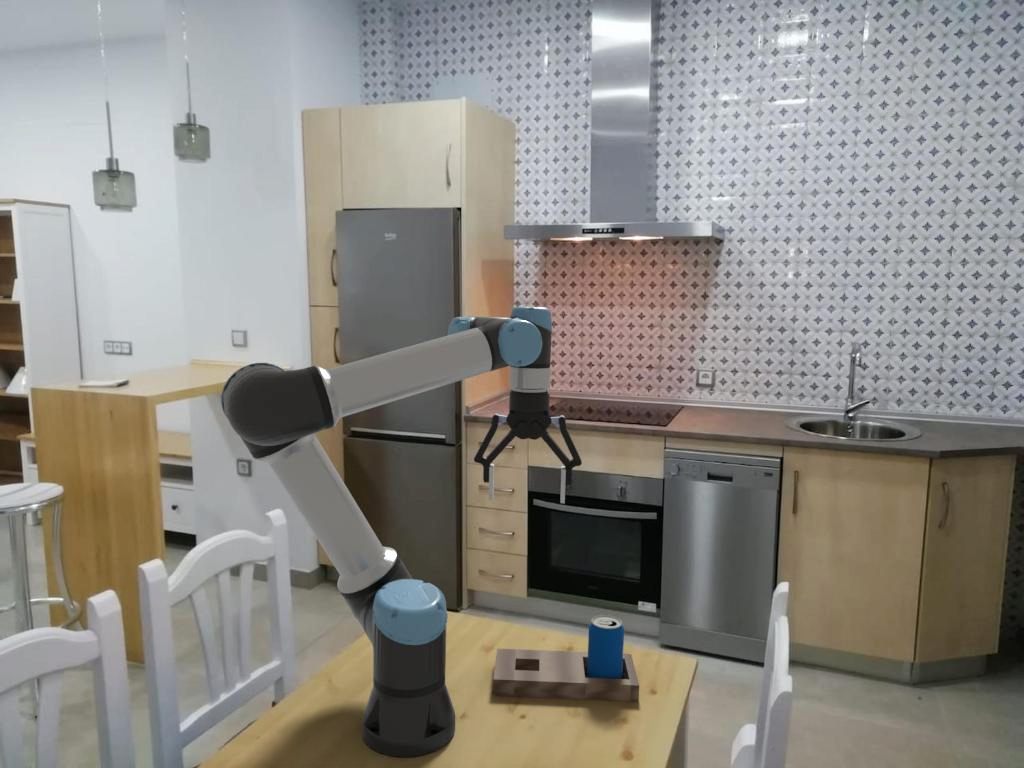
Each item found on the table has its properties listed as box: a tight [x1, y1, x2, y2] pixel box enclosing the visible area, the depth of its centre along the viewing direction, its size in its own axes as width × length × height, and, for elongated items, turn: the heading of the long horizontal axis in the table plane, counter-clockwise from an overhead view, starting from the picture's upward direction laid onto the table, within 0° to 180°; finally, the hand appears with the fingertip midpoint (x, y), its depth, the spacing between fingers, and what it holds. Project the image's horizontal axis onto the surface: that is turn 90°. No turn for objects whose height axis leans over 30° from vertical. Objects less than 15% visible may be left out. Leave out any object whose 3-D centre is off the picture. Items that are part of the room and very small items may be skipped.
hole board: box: [492, 648, 640, 702], centre depth 139 cm, size 26×12×3 cm, turn 88°
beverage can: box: [586, 614, 625, 679], centre depth 138 cm, size 6×6×12 cm
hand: (526, 500), depth 142 cm, fingers open, 13 cm apart
